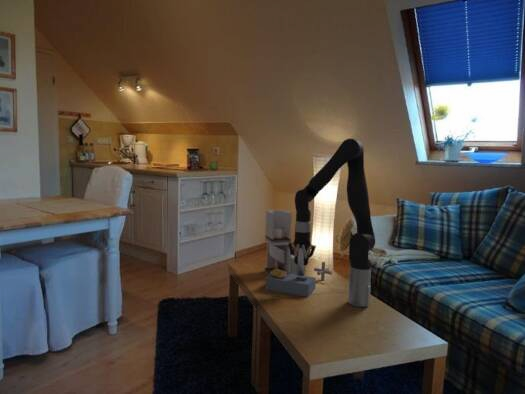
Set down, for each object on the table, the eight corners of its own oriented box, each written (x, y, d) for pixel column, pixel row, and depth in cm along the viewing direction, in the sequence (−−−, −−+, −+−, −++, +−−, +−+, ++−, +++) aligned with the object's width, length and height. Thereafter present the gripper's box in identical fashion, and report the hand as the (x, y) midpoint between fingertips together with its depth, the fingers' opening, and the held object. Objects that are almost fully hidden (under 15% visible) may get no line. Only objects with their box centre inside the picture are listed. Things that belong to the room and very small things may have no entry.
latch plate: (289, 274, 203) (289, 272, 203) (283, 279, 195) (283, 277, 195) (275, 269, 205) (276, 267, 205) (269, 274, 198) (269, 272, 198)
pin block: (315, 289, 200) (315, 277, 199) (308, 297, 189) (308, 284, 188) (274, 282, 208) (274, 271, 208) (265, 289, 198) (265, 277, 197)
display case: (264, 271, 227) (266, 210, 222) (282, 270, 230) (284, 210, 226) (270, 277, 216) (272, 213, 212) (289, 276, 219) (291, 213, 215)
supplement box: (304, 281, 210) (305, 258, 209) (290, 281, 211) (290, 258, 209) (302, 277, 218) (303, 254, 216) (289, 277, 218) (290, 254, 216)
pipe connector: (326, 284, 207) (327, 266, 206) (309, 280, 213) (310, 262, 212) (335, 280, 215) (336, 262, 213) (319, 276, 221) (319, 258, 219)
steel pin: (305, 274, 197) (307, 246, 195) (303, 276, 193) (304, 248, 192) (298, 273, 199) (299, 245, 197) (295, 275, 195) (296, 247, 193)
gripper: (319, 230, 194) (317, 264, 196) (291, 227, 199) (289, 260, 201) (314, 233, 187) (313, 268, 189) (286, 229, 192) (284, 264, 195)
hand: (301, 264), depth 195 cm, fingers closed on steel pin, 4 cm apart
